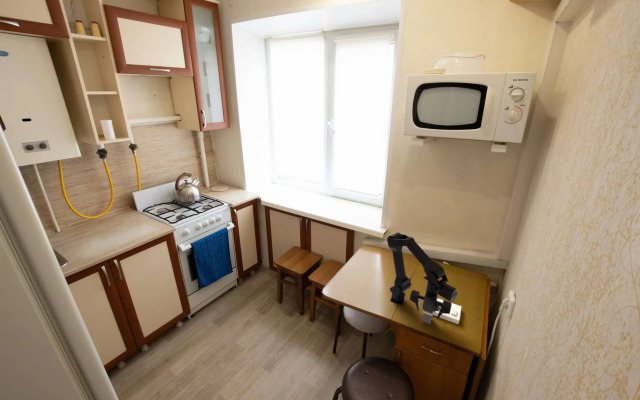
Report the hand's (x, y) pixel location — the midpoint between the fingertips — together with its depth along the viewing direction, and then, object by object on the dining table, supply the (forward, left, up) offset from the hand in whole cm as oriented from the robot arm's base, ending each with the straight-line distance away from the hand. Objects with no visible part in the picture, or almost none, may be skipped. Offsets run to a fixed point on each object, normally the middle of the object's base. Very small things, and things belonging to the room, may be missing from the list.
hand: (427, 314), depth 138 cm
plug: (0, 0, -4) cm, 4 cm away
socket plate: (+7, +10, -4) cm, 13 cm away
